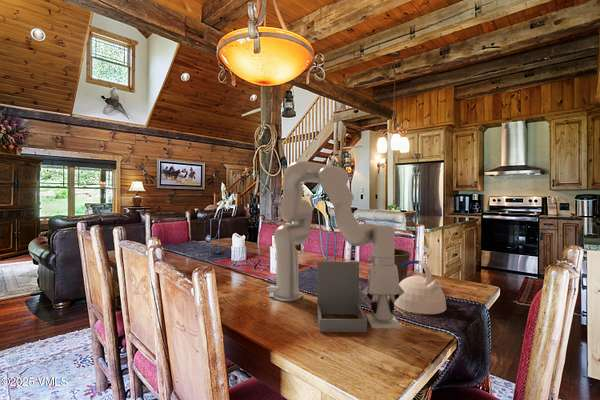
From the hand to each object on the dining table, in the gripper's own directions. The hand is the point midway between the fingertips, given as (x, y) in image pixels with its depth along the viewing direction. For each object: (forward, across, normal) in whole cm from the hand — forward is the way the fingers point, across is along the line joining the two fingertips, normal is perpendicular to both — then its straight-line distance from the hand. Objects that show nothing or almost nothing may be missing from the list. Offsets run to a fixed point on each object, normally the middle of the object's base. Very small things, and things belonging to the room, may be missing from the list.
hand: (382, 311), depth 109 cm
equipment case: (+4, -15, 0) cm, 15 cm away
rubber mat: (+4, 0, 0) cm, 4 cm away
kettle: (+4, +19, +17) cm, 26 cm away
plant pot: (+4, +17, +46) cm, 49 cm away
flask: (+2, 0, 0) cm, 2 cm away
